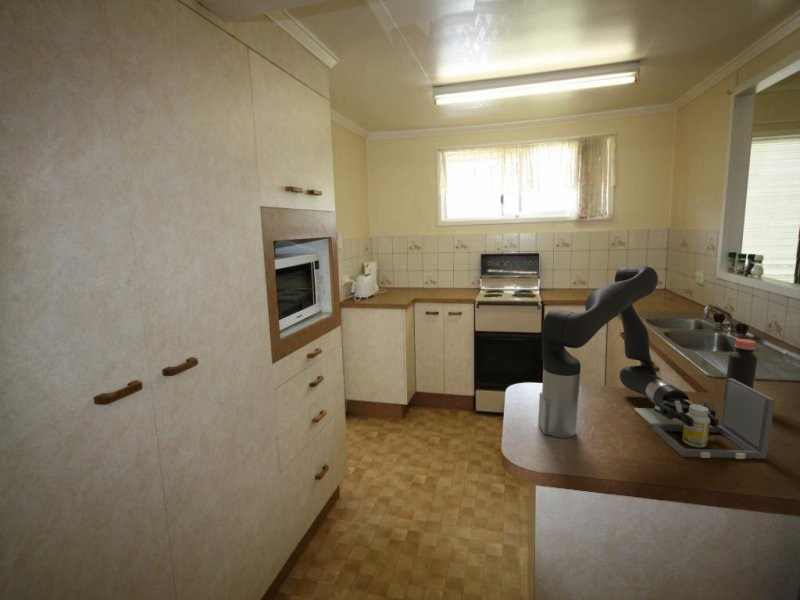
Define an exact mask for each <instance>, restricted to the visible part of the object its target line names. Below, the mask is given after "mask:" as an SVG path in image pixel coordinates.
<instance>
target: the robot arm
mask: <svg viewBox="0 0 800 600" xmlns="http://www.w3.org/2000/svg"><path fill="white" fill-rule="evenodd" d="M658 281H659V277H658V273H657V271H656V269H654V268H653V267H651V266H647V265H646V266H645V265H642V266H641V265H639V266H638V265H637V266H622V267H619V268H618V269H617V270H616V271H615V275H614V282H611V283H607V284H605V285H602V286H600V287H598V288H597V289H595V290H594V291H592V292H591V293H590V294H589V295H588V296H587V298H586V299H585V300H586V301H585V303H584V304H585V306H584V307H585V311H584V312H573V311H567V310H561V309H552V310H551V309H550V310H549V311H548V312H547V313H546V314H545V317H543V321H542V329H541V359H542V362H543V370H542V389H541V391H542V392H540V393H539V401H538V403H539V404H538V420H537V421H538V422H537V425H538V427H539V428H540V430H541V432H542V434H543V435H544V436H546V435H548V436H552V437H555V438H559V439H560V438H562V439H565V438H567V439H568V438H572V437H574V436H575V435H576V434H577V425H578V424H577V423H578V408H579V394H580V382H581V370H582V369H581V366H582V364H581V362H580V360H579V359H578V358H576V357H575V356H574V355H572V354H571V353H569V351H568V350H567V349H566V348H570V349H580V348H582V347H583V346H585V345H586V344H587V343H588V342H589V341H591V339H592V338H593V337H594V336H595V335H596V334H597V333H598V332H599V331H600V330H601V329H603V327H604V326H605V325H607V324H608V323H609V322H610V321H612V320H613V319H615V318H616V317H618V315H620V318H621V323H622V328H623V338H624V339H623V340H624V341H623V343H624V344H623V345H624V354H625V357H626V358H627V359H629V360H633V361H638V362H640V365H629V366H625V367H623V368H622V369H621V370H620V372H619V380H620V382H621V384H622V385H623V386H624V387H625V388H627V389H628V390H629V391H633V392H635V393H638V394H641V395H643V396H645V397H646V398H647V399H648V400H649V401H650V402H651V403H653V404H654V409H655V411H656V412H658V413H659V414H661V415H663V416H665V417H666V418H668V419H671V420H672V419H673V418H676V420H678V421H681V422H683V423H684V424H686V425H687V426H689V427H692V426H693V419H692V418H691V417H690V416H688V415H687V414H686V413H688V412H689V406H690V405H693V404H694V405H698V404H697V403H696V402H693V401H691V400H690V399H689V396H688V395H687V394H686V393H685V392H684V391H682V390H681V389H679V388H678V387H677V386H675V385H674V384H672V383H670V382H668V381H666V380H664V379H663V378H661V377H659V376H658V374H657V371H656V369H655V365H654V364H653V360H652V358H651V357H652V355H651V353H650V336H649V331H648V329H647V327H646V325H645V324H644V322H643V320H642V319H641V318H640V316H639V314H638V313H637V312H636V310H635V307H634V304H635V303H636V302H638V301H640V300H641V299H643V298H646V297H647V296H650V295H651V294H652V293H654V291H655V290H656V288H657V286H658V283H659V282H658ZM700 405H701V406H704V407H706V408H708V415H707V416H708V417H709V418H710V425H711V426H712V427H718V426H719V422H720V420H719V418H717V417H716V413H717V411H716V410H715V409H714V408H713V407H712V406H711V405H710V404H709V403H708V402H702V404H700Z"/></svg>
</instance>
